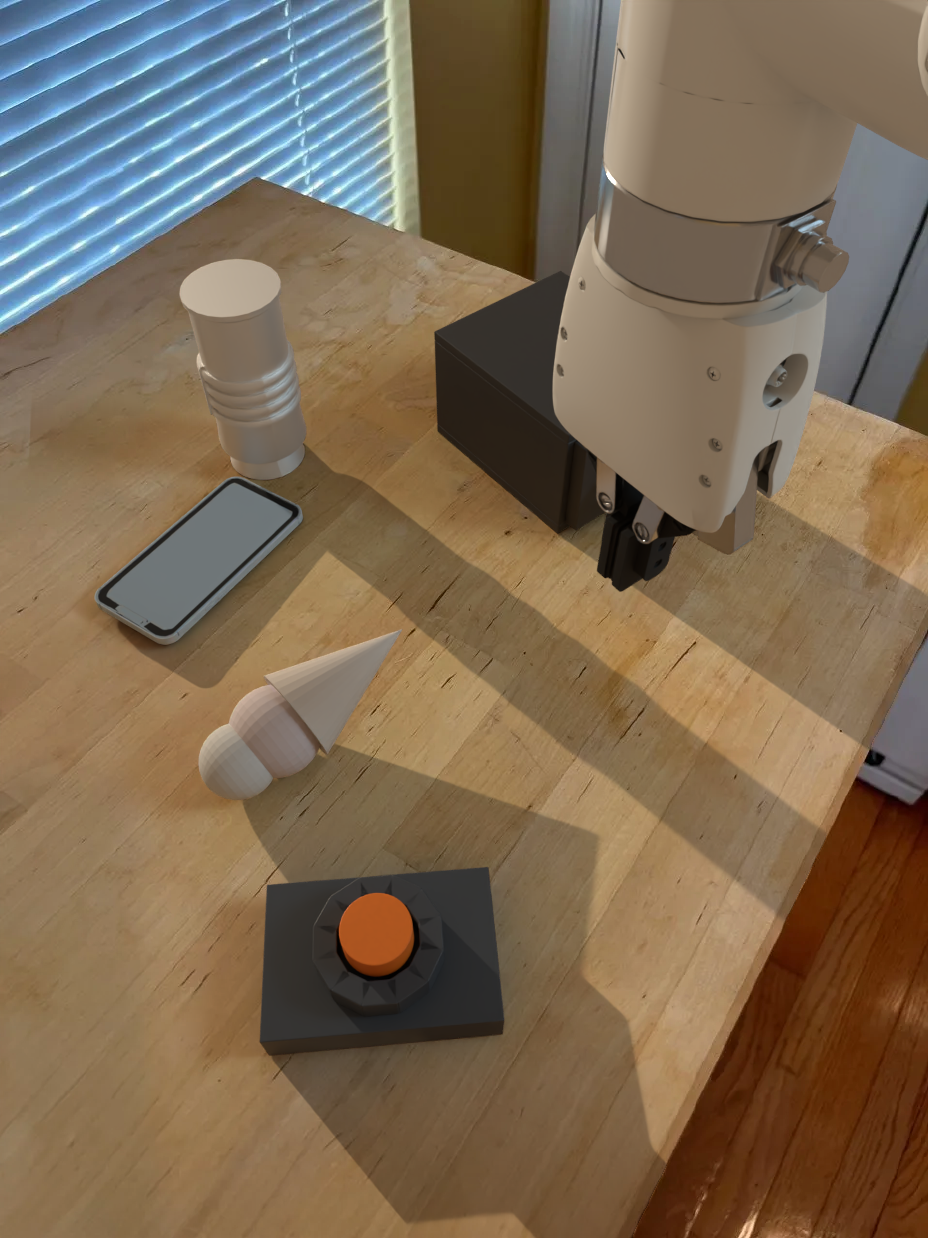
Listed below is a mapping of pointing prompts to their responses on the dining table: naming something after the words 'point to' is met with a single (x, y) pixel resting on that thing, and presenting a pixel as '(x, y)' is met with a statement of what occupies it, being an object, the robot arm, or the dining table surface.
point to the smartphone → (198, 560)
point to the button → (376, 934)
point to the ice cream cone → (289, 719)
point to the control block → (385, 1005)
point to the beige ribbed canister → (247, 365)
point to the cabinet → (509, 396)
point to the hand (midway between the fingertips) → (630, 568)
